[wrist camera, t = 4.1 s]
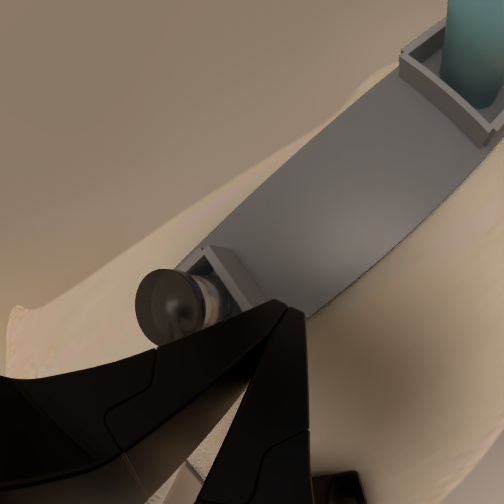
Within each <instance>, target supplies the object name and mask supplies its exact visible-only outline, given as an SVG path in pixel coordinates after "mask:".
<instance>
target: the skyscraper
mask: <svg viewBox="0 0 504 504" xmlns="http://www.w3.org/2000/svg"><path fill="white" fill-rule="evenodd" d="M203 484H204V481H203V479H202V478H201V477H200V476H199V475H198V473H197V472H196V471H195V470H194V469H193V467H192V466H191V465H190V464H189V462H188V461H187V460H185V461H184V463H183V464H182V465H181V466H180V467H179V468H178V469H177V470H176V471H175V472H174V473H173V475H172V476H171V477H170V478H169V479H168V480H167V481H166V482H165V483H164V484H163V485H162V486H161V487H160V488H159V489H158V490H157V491H156V492H155V493H154V494H153V495H152V497H151V498H149V500H148V501H147V502H146V503H145V504H194V502H195V500H196V498H197V496H198V494H199V492H200V490H201V488H202V486H203Z"/></svg>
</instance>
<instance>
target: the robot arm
mask: <svg viewBox="0 0 504 504" xmlns="http://www.w3.org/2000/svg"><path fill="white" fill-rule="evenodd" d="M247 386H248V387H247ZM246 388H247V390H246V392H245V394H244V397H243V399H242V401H241V403H240V406H239V408H238V410H237V412H236V415H235V417H234V419H233V421H232V424H231V426H230V428H229V430H228V433H227V435H226V437H225V439H224V441H223V443H222V446H221V448H220V450H219V452H218V454H217V456H216V458H215V461H214V463H213V465H212V467H211V469H210V471H209V473H208V475H207V477H206V479H205V481H204V484H203V486H202V488H201V490H200V492H199V494H198V496H197V498H196V500H195V502H194V504H367V501H366V498H365V494H364V491H363V487H362V484H361V480H360V477H359V474H358V473H357V472H355V471H351V472H346V473H340V474H335V475H325V476H318V477H311V466H310V431H309V430H308V429H309V384H308V357H307V336H306V318H305V313H304V312H303V311H301V310H299V309H297V308H294V307H292V306H291V307H289V308H288V305H287V304H286V303H283V302H281V301H279V300H277V299H271V300H269V301H267V302H264V303H262V304H260V305H257V306H255V307H253V308H251V309H248V310H246V311H244V312H241V313H239V314H237V315H234V316H232V317H230V318H227V319H225V320H223V321H220V322H218V323H216V324H213V325H211V326H208V327H206V328H203V329H201V330H199V331H196V332H194V333H191V334H189V335H186V336H184V337H181V338H179V339H176V340H174V341H171V342H169V343H166V344H164V345H161V346H158V347H157V349H155V348H153V349H150V350H148V351H145V352H142V353H140V354H137V355H134V356H131V357H128V358H125V359H122V360H119V361H116V362H112V363H108V364H104V365H101V366H97V367H93V368H88V369H84V370H79V371H74V372H69V373H65V374H60V375H55V376H49V377H44V378H37V379H14V378H8V377H4V376H0V504H145V503H146V502H147V501H148V500H149V498H151V497H152V495H153V494H154V493H155V492H156V491H157V490H158V489H159V488H160V487H161V486H162V485H163V484H164V483H165V482H166V481H167V480H168V479H169V478H170V477H171V476H172V475H173V473H174V472H175V471H176V470H177V469H178V468H179V467H180V466H181V465H182V464H183V463H184V461H185V460H186V459H187V458H188V457H189V456H190V455H191V454H192V453H193V451H194V450H195V449H196V448H197V447H198V446H199V445H200V443H201V442H202V441H203V440H204V439H205V438H206V436H207V435H208V434H209V433H210V432H211V431H212V429H213V428H214V427H215V426H216V425H217V423H218V422H219V421H220V420H221V419H222V417H223V416H224V415H225V414H226V413H227V411H228V410H229V409H230V408H231V407H232V405H233V404H234V403H235V402H236V400H237V399H238V398H239V397H240V395H241V394H242V393H243V392H244V390H245V389H246ZM351 476H353V477H355V478H350V477H351Z"/></svg>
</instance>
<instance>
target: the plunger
mask: <svg viewBox="0 0 504 504" xmlns="http://www.w3.org/2000/svg"><path fill="white" fill-rule="evenodd" d="M135 311H136V316H137V320H138V323H139V326H140V328H141V330H142V331H143V333H144V334H145V336H146V337H147V338H148V339H149V340H150V341H151V342H153V343H154V344H156V345H158V346H161V345H164V344H166V343H169V342H171V341H174V340H176V339H179V338H181V337H184V336H186V335H189V334H191V333H194V332H196V331H199V330H201V329H203V328H206V327H208V326H211V325H213V324H216V323H218V322H220V321H223V320H225V319H227V318H230V317H232V316H234V315H237V314H239V313H240V312H241V308H240V306H239V305H238V304H237V302H236V301H235V299H234V298H233V296H232V295H231V293H230V292H229V290H228V289H227V287H226V286H225V285H224V283H223V282H222V280H221V279H220V277H219V276H203V275H189V274H187V273H185V272H183V271H180V270H174V269H158V270H155V271H152V272H151V273H149V274H148V275H147V276H145V278H144V279H143V280H142V282H141V283H140V285H139V287H138V290H137V293H136V299H135Z"/></svg>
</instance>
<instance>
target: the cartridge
mask: <svg viewBox="0 0 504 504" xmlns="http://www.w3.org/2000/svg"><path fill="white" fill-rule="evenodd" d="M439 77H440V79H441V80H442V81H444V82H445V83H446V84H447V85H448V86H450V87H451V88H452V89H453V90H454V91H455V92H457V93H458V94H459V95H460V96H461V97H462V98H463V99H464V100H465V101H467V102H468V103H469V104H470V105H471V106H472V107H473V108H474V109H485V108H488V107H490V106H491V105H492V104H493V103H494V101H495V99H496V97H497V95H498V93H499V91H500V89H501V87H502V85H503V83H504V0H448V6H447V18H446V28H445V36H444V44H443V51H442V58H441V64H440V70H439Z"/></svg>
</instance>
